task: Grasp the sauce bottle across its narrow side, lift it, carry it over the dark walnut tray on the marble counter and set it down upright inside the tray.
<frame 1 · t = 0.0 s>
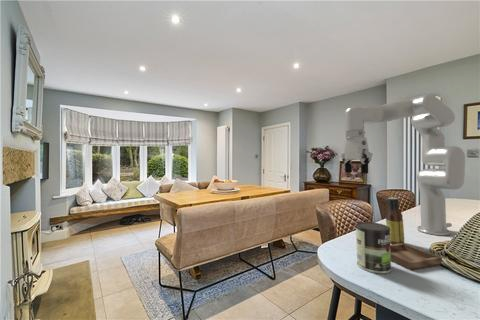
hand: (356, 172, 98), 31 cm above the kitchen island, fingers open, 9 cm apart
tray: (406, 258, 81), on the kitchen island
sauce bottle: (395, 243, 96), on the kitchen island
coffee can: (373, 266, 76), on the kitchen island
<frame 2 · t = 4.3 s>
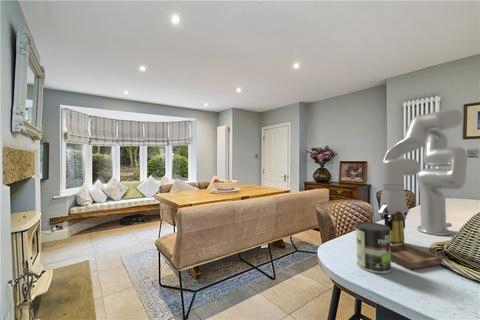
hand: (394, 228, 96), 7 cm above the kitchen island, fingers closed on sauce bottle, 6 cm apart
sauce bottle: (395, 243, 96), on the kitchen island, touching gripper
everything else where it was.
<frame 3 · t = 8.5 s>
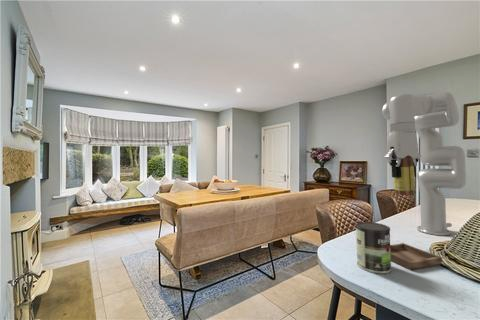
hand: (403, 176, 81), 31 cm above the kitchen island, fingers closed on sauce bottle, 6 cm apart
sauce bottle: (404, 194, 81), point 24 cm above the kitchen island, touching gripper
everything else where it was.
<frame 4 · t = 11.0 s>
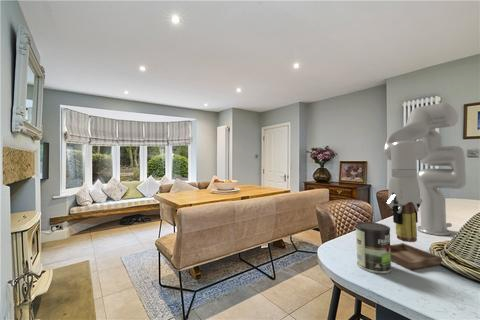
hand: (405, 222, 81), 14 cm above the kitchen island, fingers closed on sauce bottle, 6 cm apart
sauce bottle: (405, 240, 81), point 7 cm above the kitchen island, touching gripper
everything else where it was.
when the fingers open (9 cm above the kitchen island, at t = 13.1 s): sauce bottle drops 2 cm, resting on tray.
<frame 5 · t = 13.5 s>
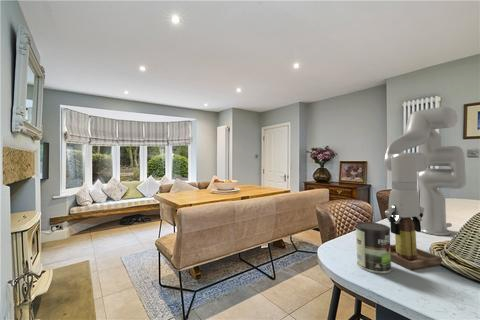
hand: (405, 232, 81), 10 cm above the kitchen island, fingers open, 9 cm apart
sauce bottle: (405, 257, 81), resting on tray
everything else where it was.
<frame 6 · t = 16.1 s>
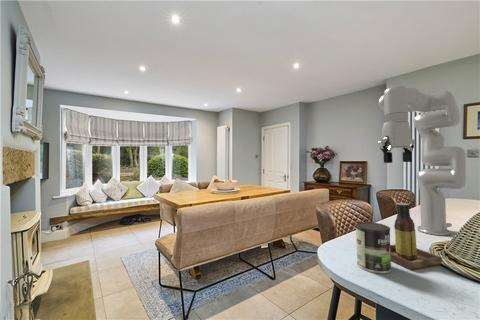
hand: (397, 162, 86), 36 cm above the kitchen island, fingers open, 9 cm apart
nothing on the kitchen island moved.
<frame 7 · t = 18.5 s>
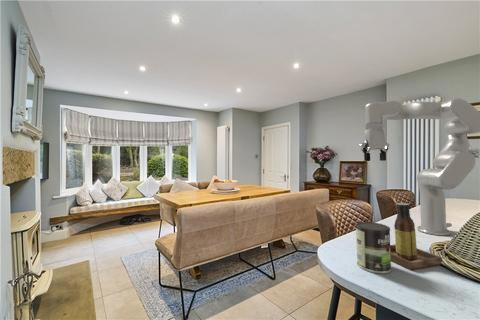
hand: (375, 160, 111), 36 cm above the kitchen island, fingers open, 9 cm apart
nothing on the kitchen island moved.
at the end: sauce bottle inside the target area on the tray (0.2 cm from its centre), point 0.4 cm above the tray's base; sauce bottle tilted 0°; the gripper is holding nothing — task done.
